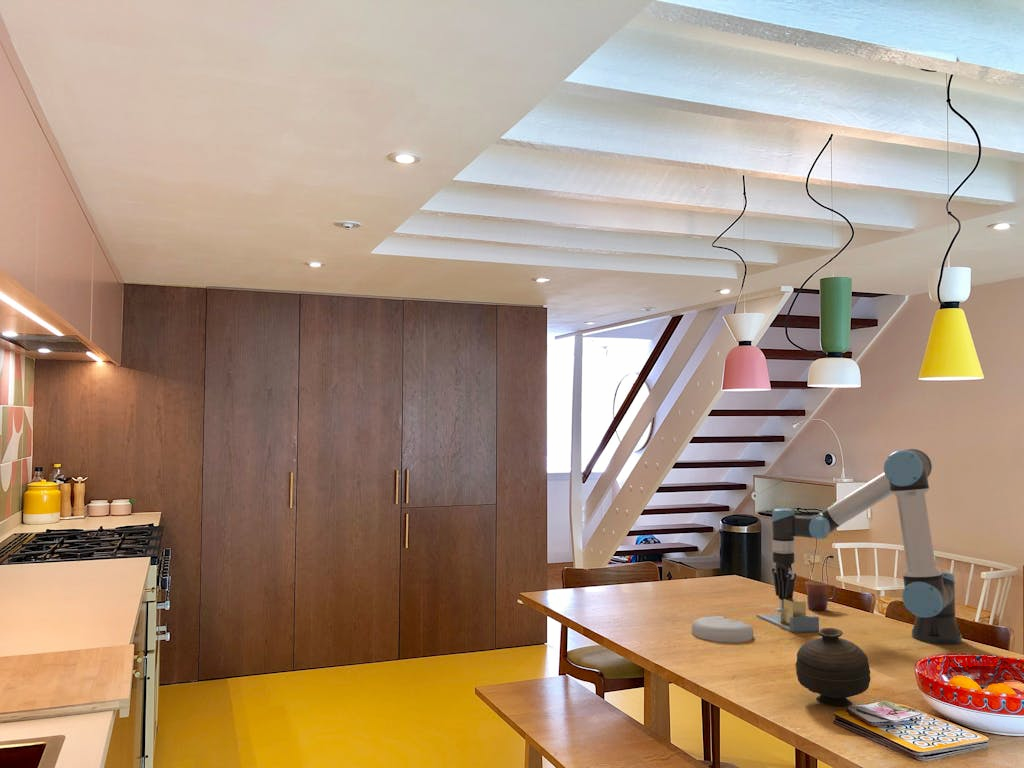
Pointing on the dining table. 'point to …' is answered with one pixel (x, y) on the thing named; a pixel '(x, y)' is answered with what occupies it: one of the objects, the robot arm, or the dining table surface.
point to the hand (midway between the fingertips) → (784, 617)
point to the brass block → (793, 609)
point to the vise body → (795, 623)
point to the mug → (818, 595)
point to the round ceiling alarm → (722, 629)
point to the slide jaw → (780, 615)
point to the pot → (833, 668)
